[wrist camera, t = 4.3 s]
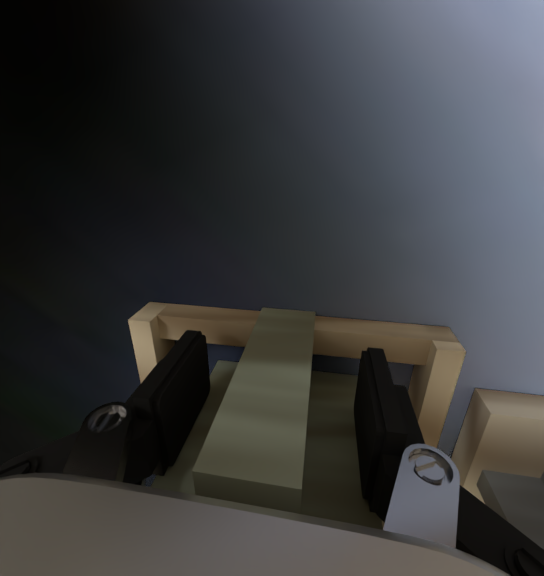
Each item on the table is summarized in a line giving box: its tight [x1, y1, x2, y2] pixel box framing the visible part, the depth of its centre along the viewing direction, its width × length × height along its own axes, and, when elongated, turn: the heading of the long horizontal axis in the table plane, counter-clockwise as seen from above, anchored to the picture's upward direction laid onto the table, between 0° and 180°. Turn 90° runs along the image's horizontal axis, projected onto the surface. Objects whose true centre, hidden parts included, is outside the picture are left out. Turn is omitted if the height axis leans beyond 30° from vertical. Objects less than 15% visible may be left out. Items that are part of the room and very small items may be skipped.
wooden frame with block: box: [128, 302, 466, 530], centre depth 14 cm, size 20×14×8 cm
